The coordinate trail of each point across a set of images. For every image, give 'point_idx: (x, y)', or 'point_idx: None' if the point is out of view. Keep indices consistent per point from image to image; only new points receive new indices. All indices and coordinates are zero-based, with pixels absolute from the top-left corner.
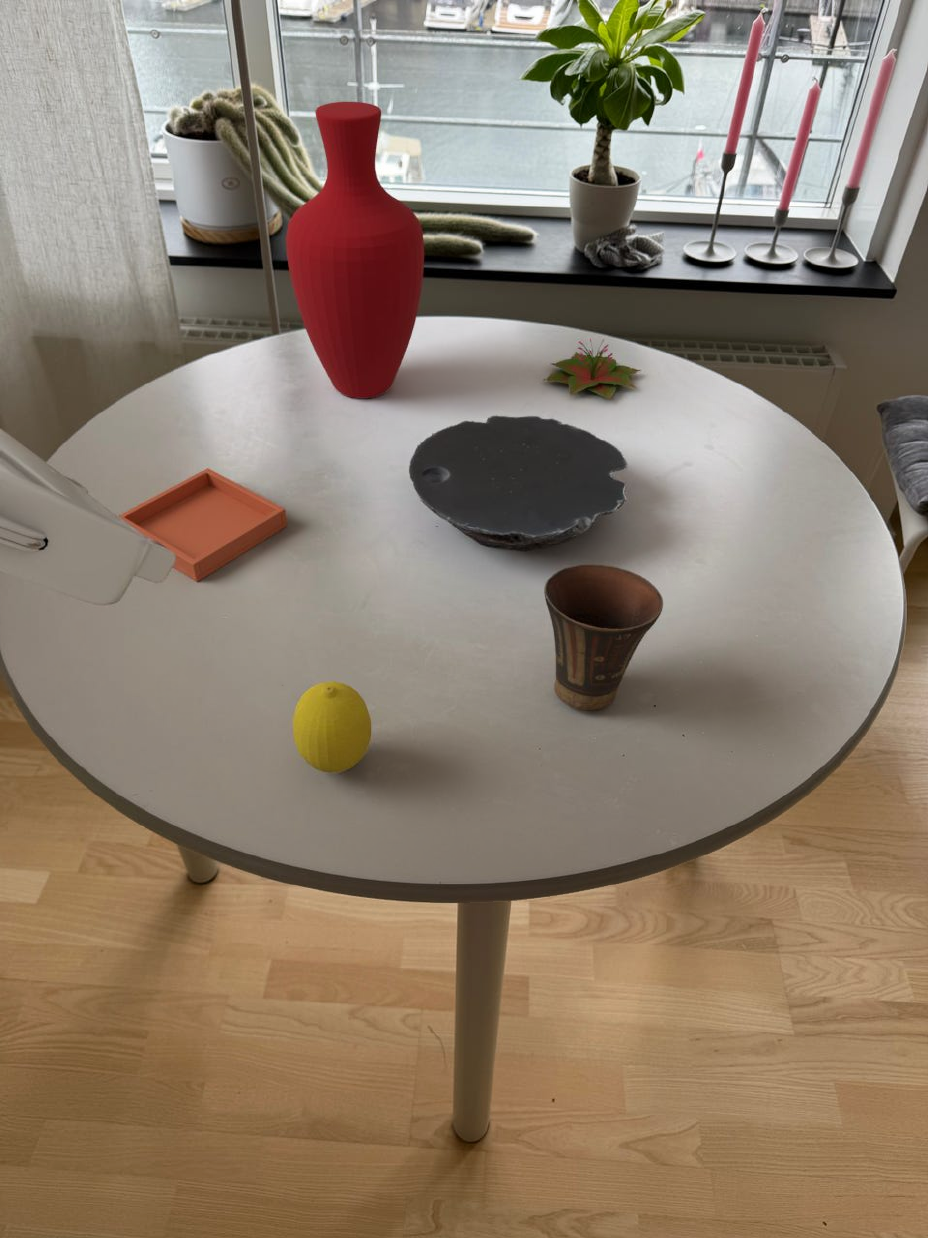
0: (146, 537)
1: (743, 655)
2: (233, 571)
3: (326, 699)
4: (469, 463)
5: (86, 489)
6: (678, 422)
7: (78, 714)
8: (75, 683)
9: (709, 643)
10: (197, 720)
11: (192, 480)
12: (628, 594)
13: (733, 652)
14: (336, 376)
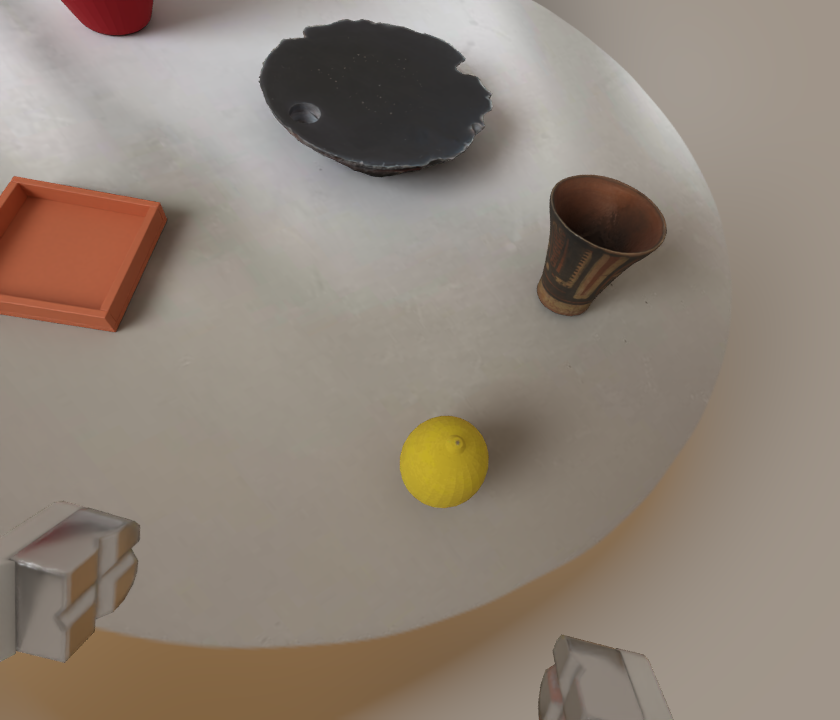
0: (582, 683)
1: None
2: (149, 300)
3: (460, 454)
4: (327, 90)
5: (131, 524)
6: (435, 2)
7: None
8: None
9: None
10: (258, 507)
11: (6, 200)
12: (600, 198)
13: None
14: (89, 10)
